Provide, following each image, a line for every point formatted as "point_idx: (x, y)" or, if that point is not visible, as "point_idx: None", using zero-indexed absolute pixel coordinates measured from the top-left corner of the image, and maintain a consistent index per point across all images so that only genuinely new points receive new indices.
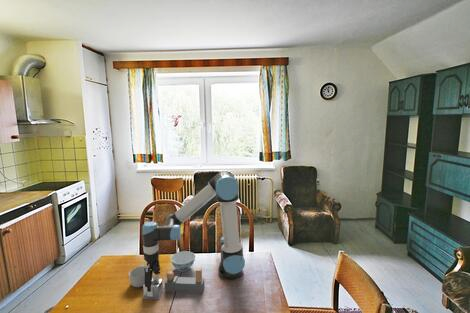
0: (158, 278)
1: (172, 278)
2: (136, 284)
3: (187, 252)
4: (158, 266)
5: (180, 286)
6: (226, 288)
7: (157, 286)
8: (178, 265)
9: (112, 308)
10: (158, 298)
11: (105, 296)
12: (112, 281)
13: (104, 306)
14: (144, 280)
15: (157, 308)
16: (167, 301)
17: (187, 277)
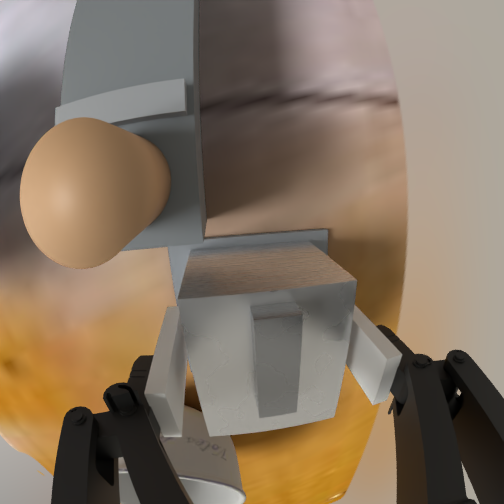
0: (161, 353)
1: (134, 134)
2: (234, 447)
3: None
4: (88, 484)
5: (195, 40)
6: None
7: (351, 289)
8: None
9: (374, 420)
10: (324, 232)
11: (296, 474)
12: None
13: (356, 446)
14: (197, 435)
15: (407, 197)
16: (340, 141)
17: (76, 8)
